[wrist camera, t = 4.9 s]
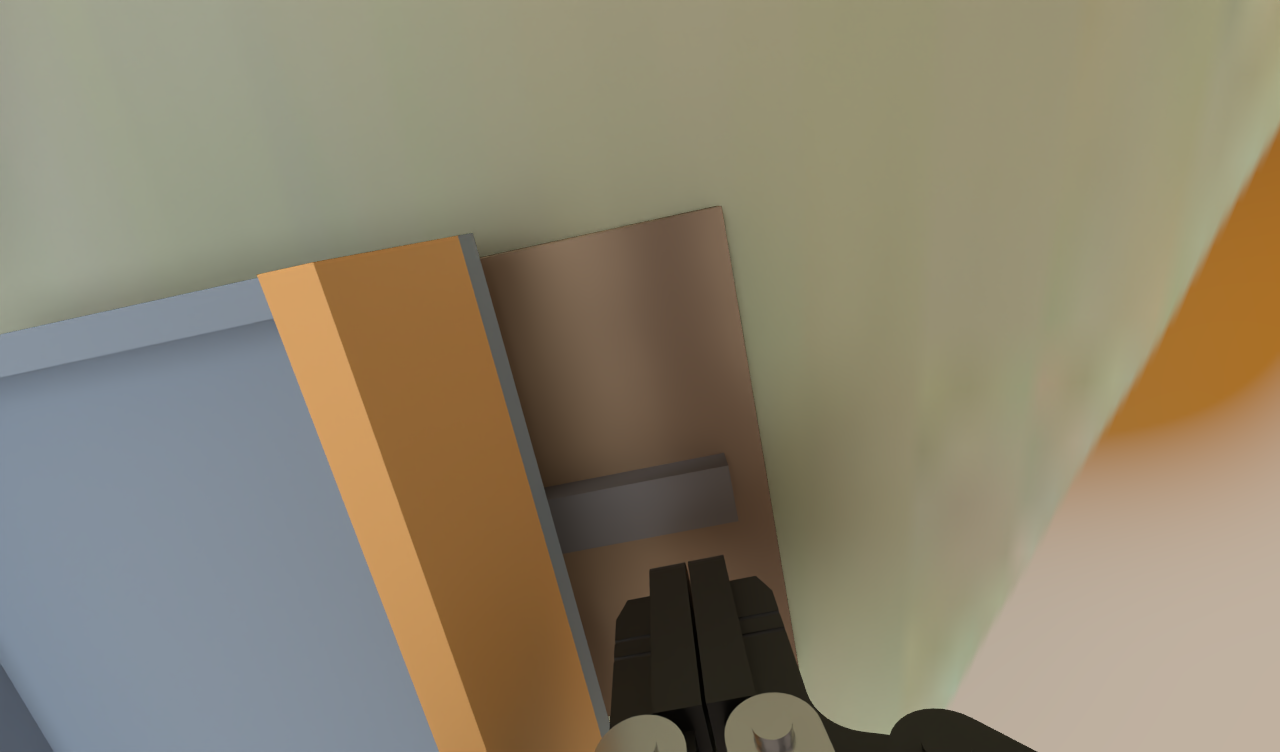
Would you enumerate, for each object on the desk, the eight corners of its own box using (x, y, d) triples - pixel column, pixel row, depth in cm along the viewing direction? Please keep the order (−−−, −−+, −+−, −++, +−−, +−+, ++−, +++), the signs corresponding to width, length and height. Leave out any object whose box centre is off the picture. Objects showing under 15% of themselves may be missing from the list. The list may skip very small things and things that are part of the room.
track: (716, 205, 15) (742, 207, 11) (793, 659, 19) (831, 775, 15) (-275, 421, 17) (-544, 485, 13) (-23, 799, 21) (-174, 935, 17)
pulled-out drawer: (499, 227, 14) (313, 262, 6) (635, 736, 18) (631, 1159, 10) (-18, 341, 15) (-793, 506, 7) (224, 804, 19) (-83, 1248, 11)
